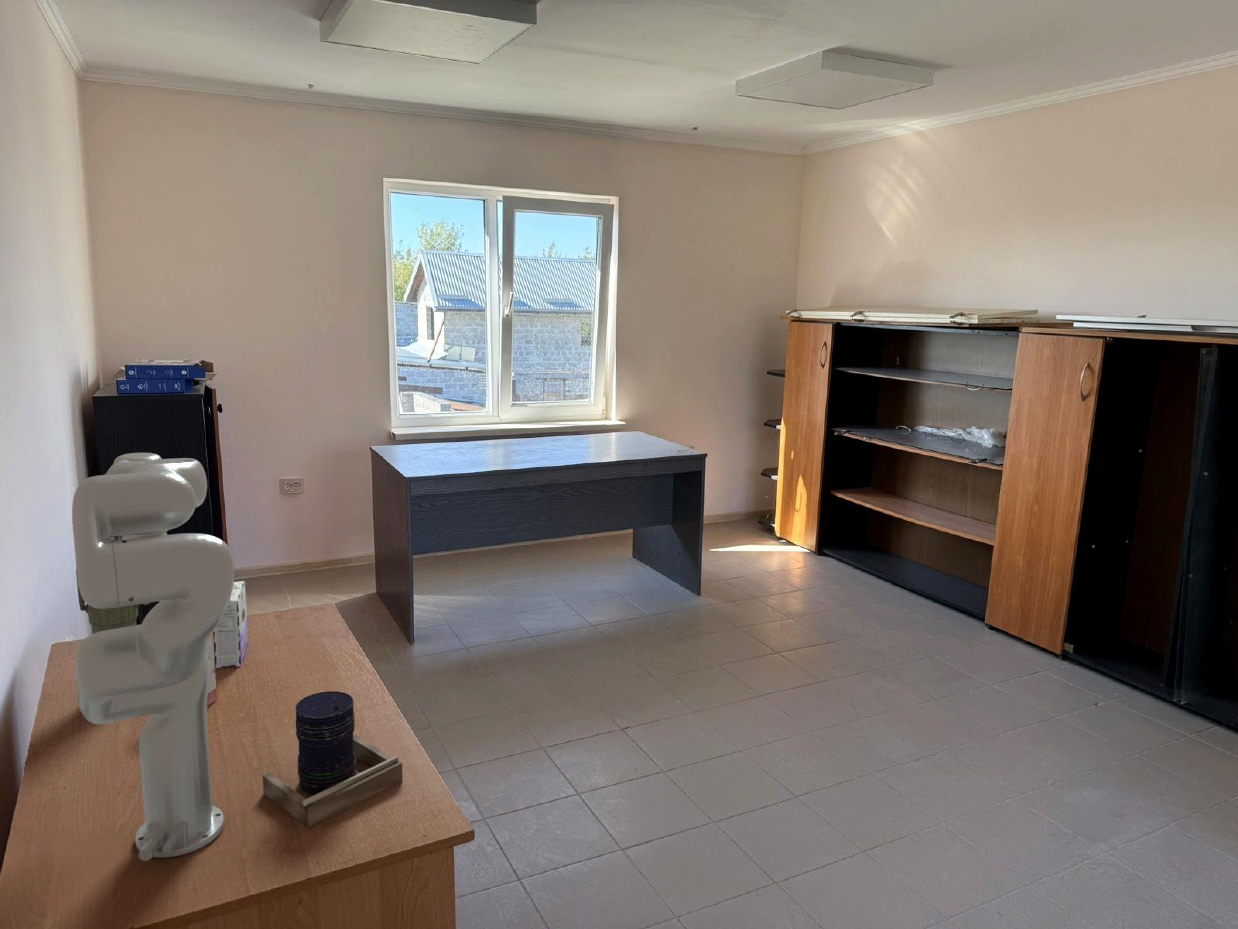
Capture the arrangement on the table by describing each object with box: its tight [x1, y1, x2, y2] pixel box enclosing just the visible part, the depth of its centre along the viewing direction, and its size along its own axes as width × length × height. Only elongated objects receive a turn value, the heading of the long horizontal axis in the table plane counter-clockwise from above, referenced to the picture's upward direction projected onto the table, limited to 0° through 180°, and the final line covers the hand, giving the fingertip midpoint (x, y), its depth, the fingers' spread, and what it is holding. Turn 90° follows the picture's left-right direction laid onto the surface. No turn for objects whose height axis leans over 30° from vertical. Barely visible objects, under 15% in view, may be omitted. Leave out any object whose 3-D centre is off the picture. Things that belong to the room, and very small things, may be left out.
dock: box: [262, 734, 403, 829], centre depth 145 cm, size 15×18×4 cm
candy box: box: [212, 580, 249, 669], centre depth 195 cm, size 14×6×16 cm, turn 17°
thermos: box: [75, 536, 139, 634], centre depth 172 cm, size 9×12×35 cm
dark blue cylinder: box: [295, 690, 357, 797], centre depth 146 cm, size 10×10×15 cm
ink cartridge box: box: [205, 636, 218, 708], centre depth 170 cm, size 9×5×15 cm, turn 168°
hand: (151, 622), depth 147 cm, fingers closed
